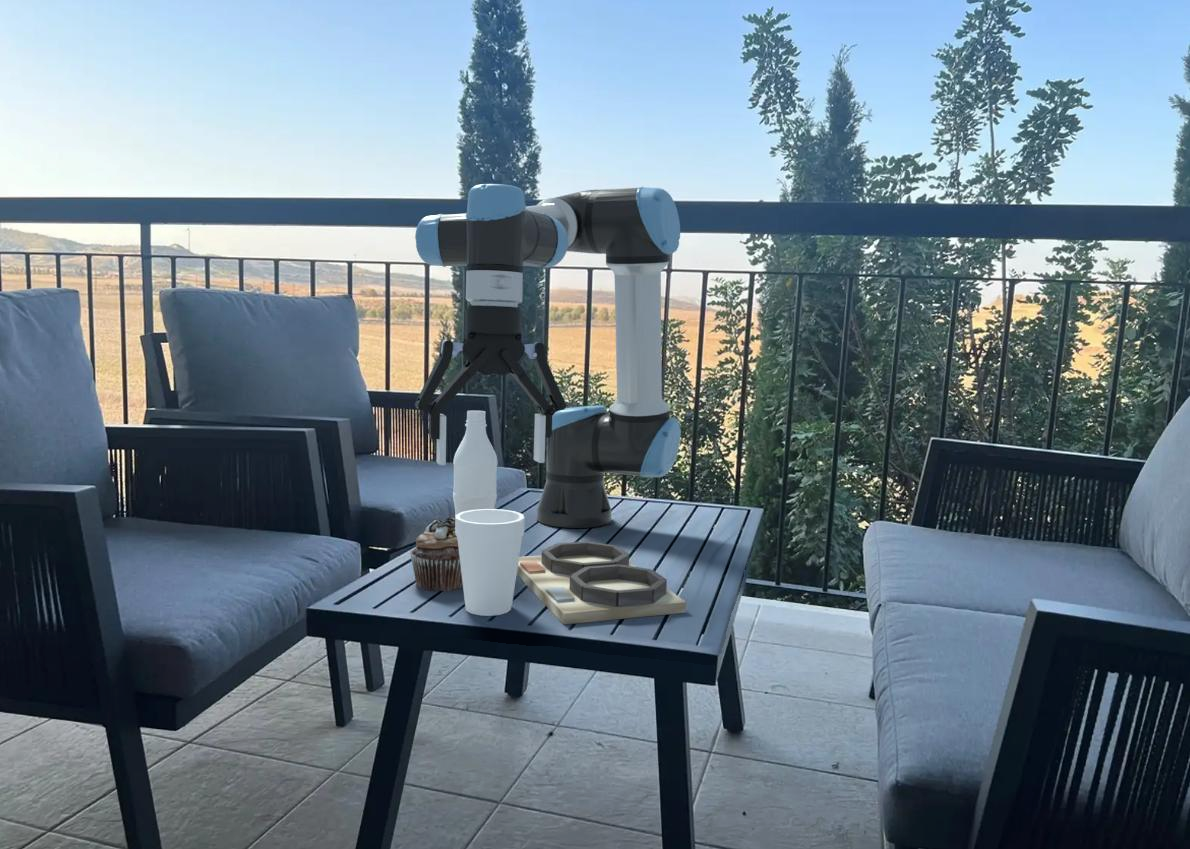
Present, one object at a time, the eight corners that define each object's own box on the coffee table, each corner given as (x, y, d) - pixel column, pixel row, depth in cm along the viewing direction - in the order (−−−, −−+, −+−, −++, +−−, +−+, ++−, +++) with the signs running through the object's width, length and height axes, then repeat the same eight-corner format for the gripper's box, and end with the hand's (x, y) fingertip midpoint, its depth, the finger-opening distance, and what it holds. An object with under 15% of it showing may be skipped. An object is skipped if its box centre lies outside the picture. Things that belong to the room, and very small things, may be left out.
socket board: (509, 566, 139) (510, 545, 138) (612, 559, 145) (613, 539, 145) (563, 624, 113) (564, 598, 112) (685, 612, 119) (686, 588, 119)
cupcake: (449, 570, 136) (450, 508, 135) (487, 584, 129) (488, 519, 128) (397, 581, 129) (397, 516, 128) (434, 597, 122) (435, 529, 121)
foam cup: (490, 593, 125) (491, 506, 123) (536, 607, 119) (538, 516, 118) (439, 608, 118) (440, 516, 116) (486, 624, 112) (488, 527, 110)
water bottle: (488, 569, 137) (491, 414, 134) (446, 566, 138) (447, 412, 135) (500, 557, 144) (503, 410, 141) (460, 554, 145) (461, 408, 142)
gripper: (402, 300, 106) (401, 469, 108) (591, 308, 114) (586, 464, 117) (395, 301, 113) (393, 460, 115) (573, 308, 121) (569, 456, 124)
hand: (491, 462), depth 116 cm, fingers open, 13 cm apart
